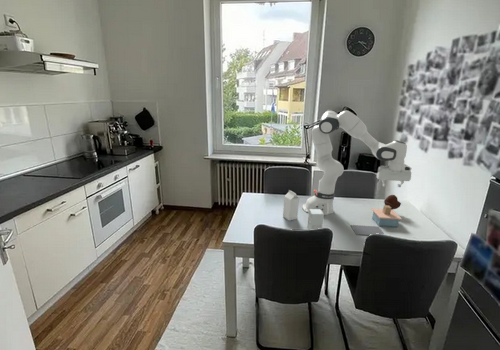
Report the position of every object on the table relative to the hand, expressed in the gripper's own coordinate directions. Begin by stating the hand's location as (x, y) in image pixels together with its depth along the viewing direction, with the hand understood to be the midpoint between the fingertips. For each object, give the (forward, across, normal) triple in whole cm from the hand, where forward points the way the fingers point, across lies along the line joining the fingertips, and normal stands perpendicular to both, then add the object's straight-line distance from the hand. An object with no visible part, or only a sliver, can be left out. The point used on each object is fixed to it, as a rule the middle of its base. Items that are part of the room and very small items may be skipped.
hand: (391, 186), depth 180 cm
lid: (+20, 0, 0) cm, 20 cm away
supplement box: (+25, -50, -18) cm, 59 cm away
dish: (+26, 0, 0) cm, 26 cm away
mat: (+26, -16, -14) cm, 33 cm away
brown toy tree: (+26, +10, +15) cm, 32 cm away
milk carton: (+25, -64, -3) cm, 69 cm away
